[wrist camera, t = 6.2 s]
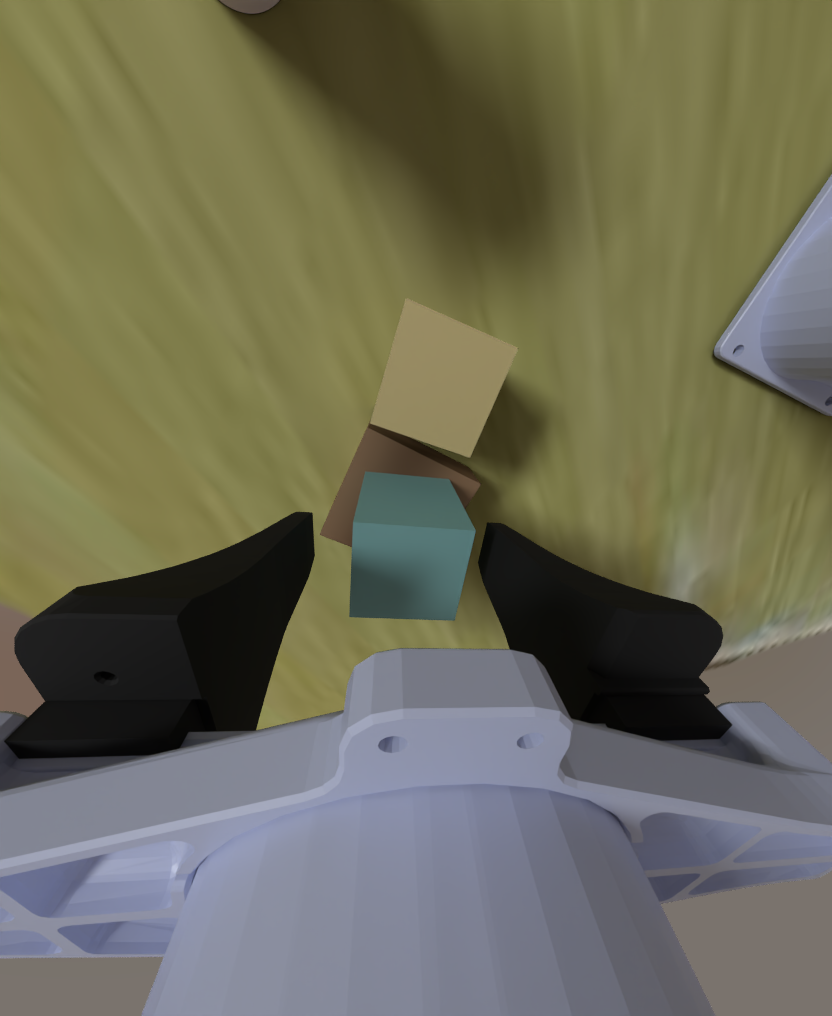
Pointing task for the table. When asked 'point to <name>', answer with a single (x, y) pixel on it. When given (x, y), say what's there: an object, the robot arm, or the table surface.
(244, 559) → the robot arm
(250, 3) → the smoothie
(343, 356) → the table surface
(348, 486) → the walnut slab
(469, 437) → the mustard block
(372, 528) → the teal block
